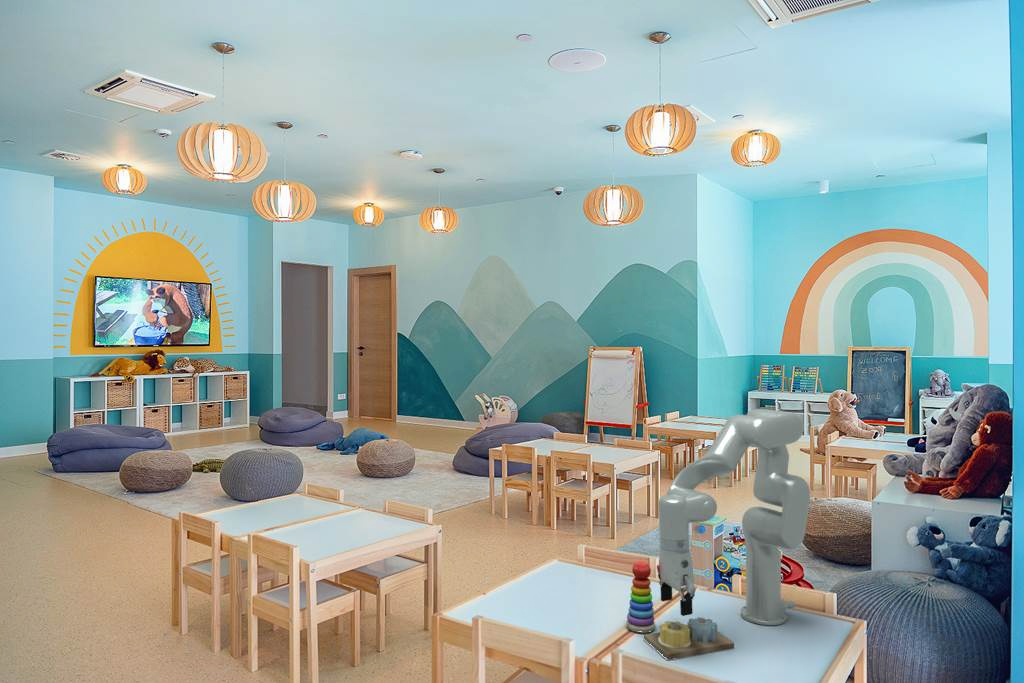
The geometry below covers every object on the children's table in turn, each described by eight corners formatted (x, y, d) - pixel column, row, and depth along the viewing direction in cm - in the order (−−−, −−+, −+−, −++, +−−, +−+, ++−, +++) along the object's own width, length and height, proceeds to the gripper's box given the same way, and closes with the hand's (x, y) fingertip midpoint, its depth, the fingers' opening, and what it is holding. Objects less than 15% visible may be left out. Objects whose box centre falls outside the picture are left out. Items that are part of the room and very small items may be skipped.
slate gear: (698, 627, 191) (698, 613, 191) (722, 636, 186) (722, 622, 185) (681, 635, 186) (681, 621, 186) (706, 645, 181) (706, 630, 181)
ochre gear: (679, 632, 188) (679, 619, 188) (695, 644, 181) (695, 630, 181) (654, 636, 186) (654, 623, 186) (669, 648, 179) (669, 635, 178)
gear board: (707, 629, 193) (707, 608, 193) (734, 648, 182) (734, 625, 182) (643, 640, 187) (643, 618, 187) (667, 660, 176) (666, 636, 176)
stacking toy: (655, 635, 190) (655, 567, 190) (625, 633, 192) (625, 565, 191) (655, 623, 198) (655, 557, 198) (627, 621, 200) (626, 556, 199)
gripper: (705, 551, 176) (707, 618, 177) (669, 532, 192) (671, 592, 193) (679, 555, 174) (681, 623, 174) (645, 535, 190) (647, 597, 191)
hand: (676, 607), depth 184 cm, fingers open, 9 cm apart
